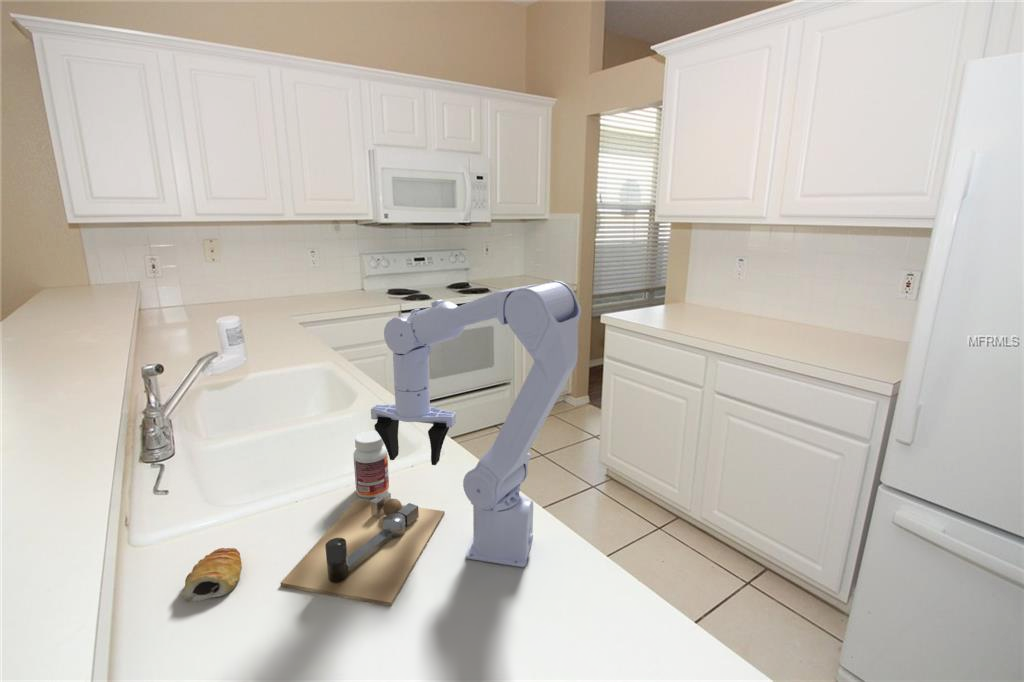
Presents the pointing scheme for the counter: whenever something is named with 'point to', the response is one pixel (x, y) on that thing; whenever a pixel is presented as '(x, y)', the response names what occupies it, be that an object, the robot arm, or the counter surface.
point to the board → (380, 570)
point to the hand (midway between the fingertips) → (414, 459)
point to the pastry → (213, 575)
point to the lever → (366, 544)
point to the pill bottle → (370, 465)
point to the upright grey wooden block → (379, 504)
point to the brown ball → (392, 506)
